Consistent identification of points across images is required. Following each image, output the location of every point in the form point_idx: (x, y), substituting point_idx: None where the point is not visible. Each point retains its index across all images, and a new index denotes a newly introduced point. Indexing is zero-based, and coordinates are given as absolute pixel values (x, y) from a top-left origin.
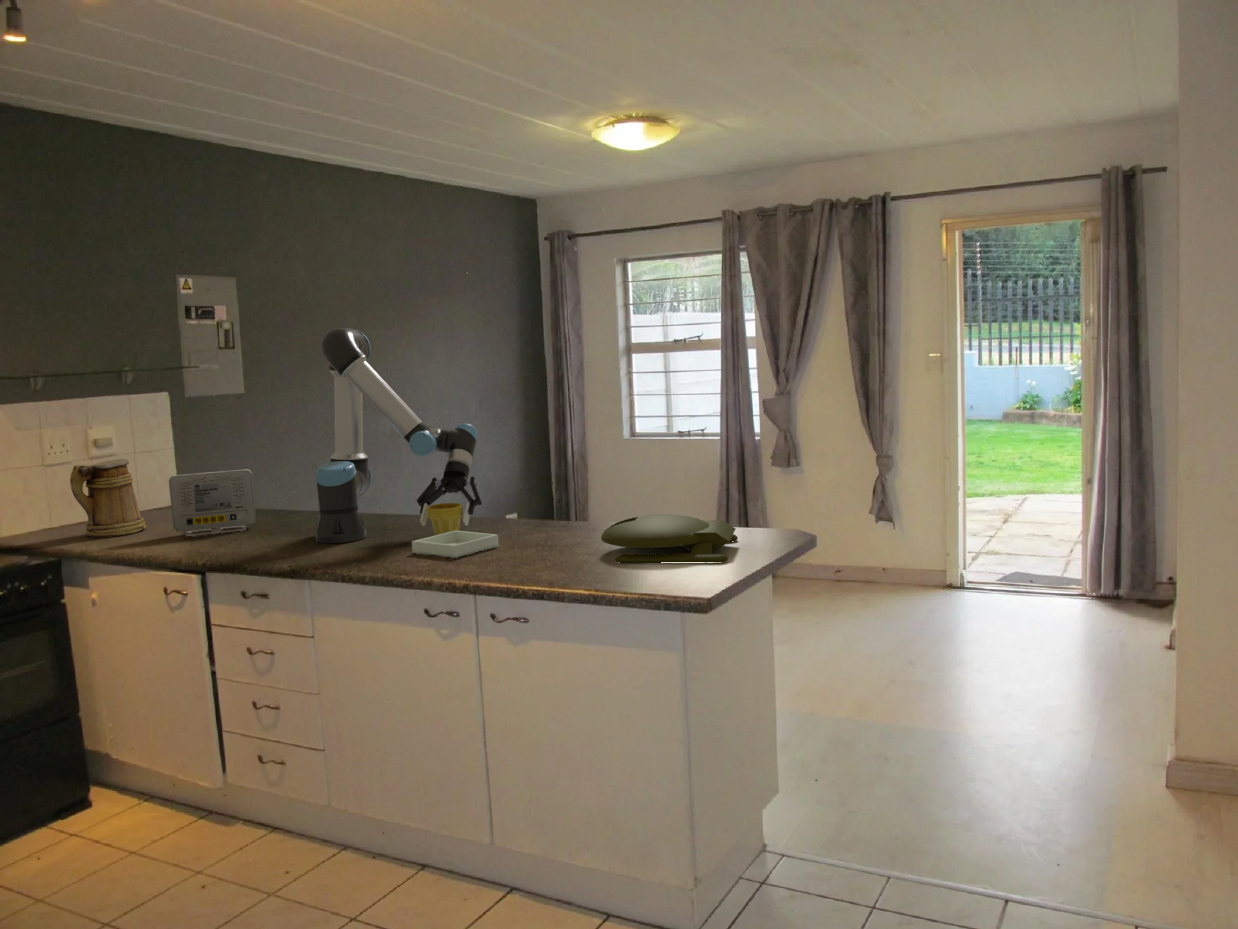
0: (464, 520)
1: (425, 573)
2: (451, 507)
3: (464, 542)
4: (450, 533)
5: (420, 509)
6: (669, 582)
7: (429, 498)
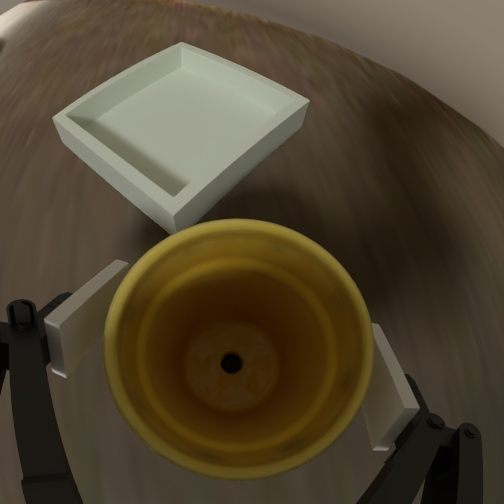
0: (120, 263)
1: (232, 21)
2: (207, 455)
3: (155, 59)
4: (194, 181)
5: (419, 392)
6: (10, 18)
7: (408, 446)
